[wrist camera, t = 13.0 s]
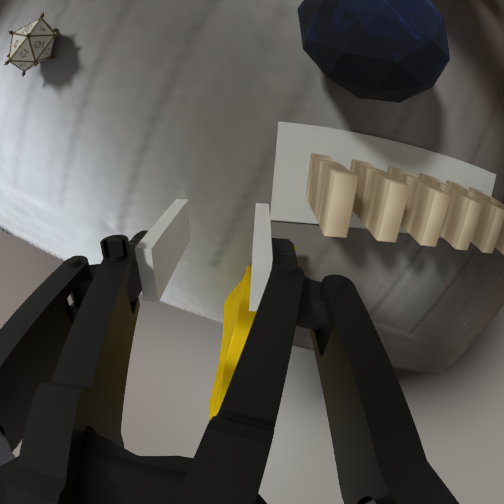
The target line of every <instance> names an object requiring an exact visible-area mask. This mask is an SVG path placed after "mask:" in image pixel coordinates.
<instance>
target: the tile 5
mask: <svg viewBox="0 0 504 504" xmlns="http://www.w3.org/2000/svg"><path fill="white" fill-rule="evenodd" d="M446 184H448V185H450V186H452V187H454V188H456V189H457V190H459V191H461V192H463V193H465V194H466V195H468V196H470V197H472V198H473V199H475V200H477V201H478V202H480V203H482V206H481V209H480V213H479V216H478V220H477V223H476V226H475V229H474V232H473V235H472V238H471V241H470V242H471V243H473V244H474V245H475V246H476V247H477V248H478V249H480V250H481V251H482V252H483V253H491V254H492V253H493V250H494V247H495V245H496V242H497V239H498V236H499V233H500V230H501V227H502V224H503V221H504V209H502V208H500V207H499V206H497V205H496V204H494V203H492V202H491V201H489V200H487V199H485V198H484V197H482V196H480V195H478V194H477V193H475V192H473V191H471V190H469V189H467V188H466V187H464V186H462V185H460V184H458V183H456V182H452V181H449V180H447V181H446Z"/></svg>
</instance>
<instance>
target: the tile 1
mask: <svg viewBox="0 0 504 504" xmlns="http://www.w3.org/2000/svg"><path fill="white" fill-rule="evenodd" d="M357 181H358V176H357V175H355V174H354V173H353V172H351V171H350V170H348V169H347V168H345V167H344V166H343V165H341V164H340V163H338V162H337V161H335V160H334V159H332V158H331V157H329V156H328V155H321V154H313V153H311V157H310V166H309V174H308V182H307V190H306V199H307V201H308V203H309V205H310V207H311V209H312V211H313V213H314V215H315V217H316V219H317V221H318V223H319V226H320V228H321V230H322V232H323V234H324V236H333V237H344V238H346V237H347V233H348V228H349V223H350V219H351V214H352V209H353V203H354V198H355V193H356V187H357Z"/></svg>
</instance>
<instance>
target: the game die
mask: <svg viewBox="0 0 504 504" xmlns="http://www.w3.org/2000/svg"><path fill="white" fill-rule="evenodd" d="M40 17H41V18H39V19H37V20H35V21H34V22H32V23H30V24H28V25H26V26H24V27H23V28H21V29H19V30H17V31H16V32H13V31H9V34H10V35H11V34H12V39H11V46H10V54H8V56H7V57H9V60H8V61H7V62H5V64H4V65H7V64H9V62H10V63H12V64H13V65H15V66H16V67H18V68H19V69H21V70H22V71H23V73H22V76H24V75H25V71H26V70H28V69H30V68H31V67H33V66H37V64H38V63H40V62H42V61H44V60H46V59H48V58H50V59H54V56H51V54H52V49H53V45H54V40H55V36H59V35H60V34H61V33H59V32H58V33H56V34H55V33H54V32H55V31H57V29H56V28H55V29H54V30H52V28H51V27H50V26H49V25H48V24H47V23H46V22H45V21H44V19H43V17H44V12H43V13H42V14H41V16H40Z"/></svg>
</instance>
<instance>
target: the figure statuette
mask: <svg viewBox="0 0 504 504" xmlns="http://www.w3.org/2000/svg"><path fill="white" fill-rule="evenodd" d="M294 249H295V251H296V247H295V246H294ZM251 269H252V265H248V266H247V269H246V272H245V274H244V277H243V279H242V280H241V282H240V283H239V284H238V285H237V286H236V288H235V289H234V290H233V291H232V292H231V293H230V295H229V296H228V297H227V299H226V301H225V304H224V322H223V337H222V344H221V352H220V358H219V365H218V369H217V373H216V377H215V382H214V385H213V390H212V394H211V398H210V403H209V414H210V420H211V418H212V417H213V416H215V415H217V413H218V411H219V409H220V407H221V404H222V402H223V399H224V397H225V394H226V391H227V389H228V386H229V384H230V381H231V379H232V376H233V373H234V371H235V368H236V366H237V363H238V360H239V358H240V355H241V352H242V350H243V347H244V344H245V342H246V339H247V336H248V334H249V331H250V328H251V326H252V323H253V320H254V317H255V315H256V312H257V311H249V303H250V286H251ZM209 422H210V421H209Z"/></svg>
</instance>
